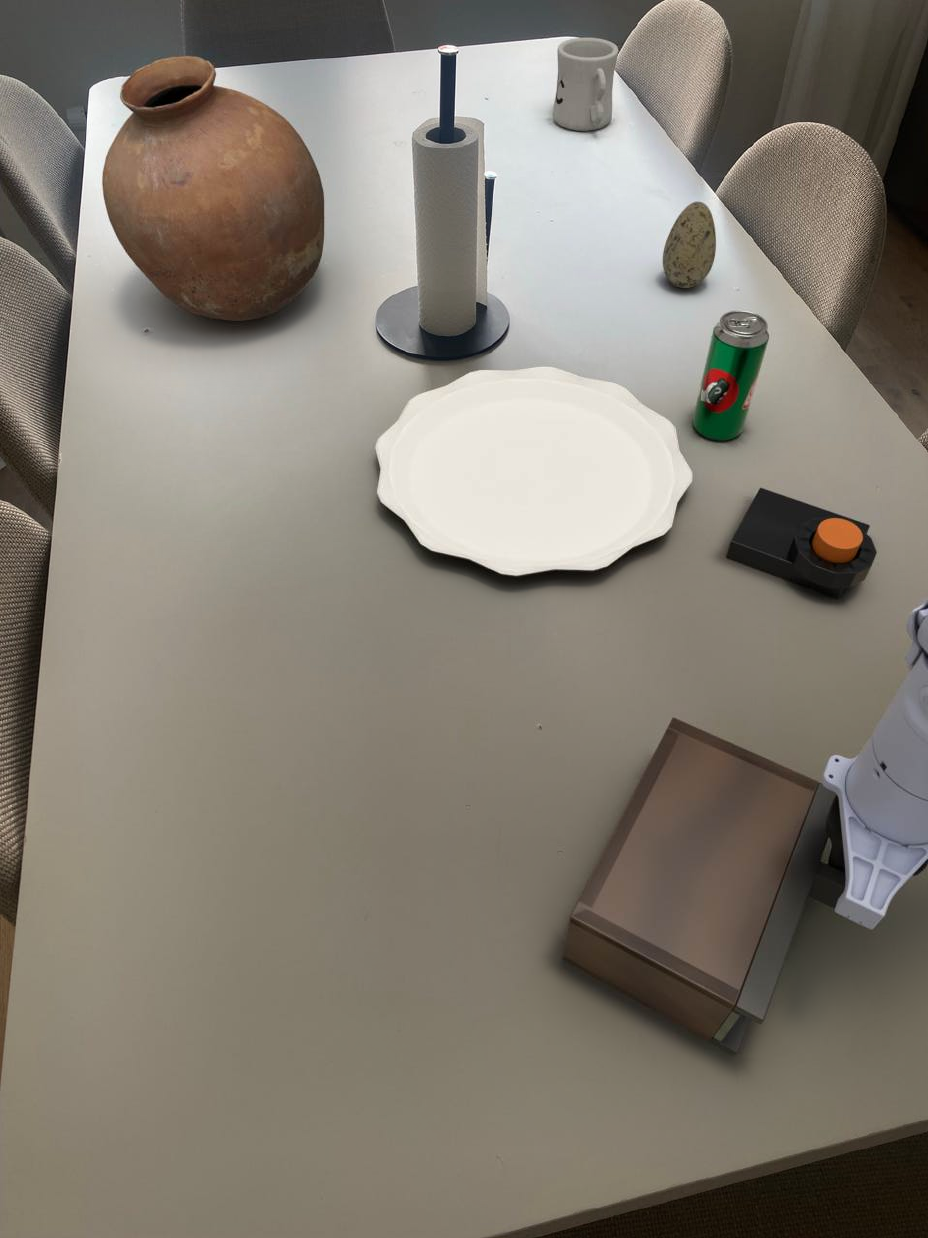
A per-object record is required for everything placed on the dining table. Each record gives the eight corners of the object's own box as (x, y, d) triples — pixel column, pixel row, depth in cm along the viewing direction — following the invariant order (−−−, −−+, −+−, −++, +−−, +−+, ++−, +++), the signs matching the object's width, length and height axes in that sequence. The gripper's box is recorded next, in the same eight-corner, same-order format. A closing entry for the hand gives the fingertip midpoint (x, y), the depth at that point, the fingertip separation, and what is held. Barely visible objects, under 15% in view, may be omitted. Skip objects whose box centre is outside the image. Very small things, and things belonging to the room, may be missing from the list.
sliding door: (836, 897, 60) (862, 864, 56) (800, 1008, 55) (825, 980, 51) (789, 874, 61) (810, 840, 57) (749, 981, 56) (769, 951, 52)
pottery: (360, 263, 114) (337, 36, 94) (288, 369, 99) (243, 127, 80) (194, 239, 118) (140, 18, 99) (102, 338, 104) (17, 101, 84)
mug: (544, 111, 143) (548, 39, 135) (599, 105, 144) (607, 33, 136) (569, 144, 135) (575, 70, 127) (627, 138, 136) (636, 64, 129)
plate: (373, 394, 96) (371, 374, 95) (646, 377, 98) (650, 358, 96) (382, 602, 78) (380, 583, 76) (720, 578, 79) (726, 559, 77)
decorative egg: (655, 294, 108) (669, 212, 101) (660, 269, 112) (674, 187, 104) (706, 301, 108) (724, 218, 100) (709, 275, 111) (727, 193, 104)
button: (861, 542, 77) (868, 527, 75) (849, 569, 75) (856, 554, 74) (818, 527, 78) (824, 512, 77) (806, 553, 76) (812, 538, 75)
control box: (876, 547, 81) (892, 514, 78) (848, 616, 76) (864, 584, 73) (754, 504, 85) (765, 471, 82) (720, 567, 80) (730, 535, 77)
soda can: (746, 444, 91) (777, 338, 82) (695, 444, 91) (720, 338, 82) (737, 412, 94) (766, 307, 85) (688, 412, 94) (711, 307, 85)
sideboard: (812, 842, 63) (844, 792, 58) (735, 1056, 54) (763, 1021, 49) (656, 769, 67) (673, 716, 62) (560, 959, 58) (569, 916, 53)
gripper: (885, 630, 52) (816, 754, 63) (811, 830, 44) (746, 935, 55) (1016, 680, 50) (922, 800, 60) (963, 901, 42) (865, 996, 52)
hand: (846, 868), depth 57 cm, fingers closed
